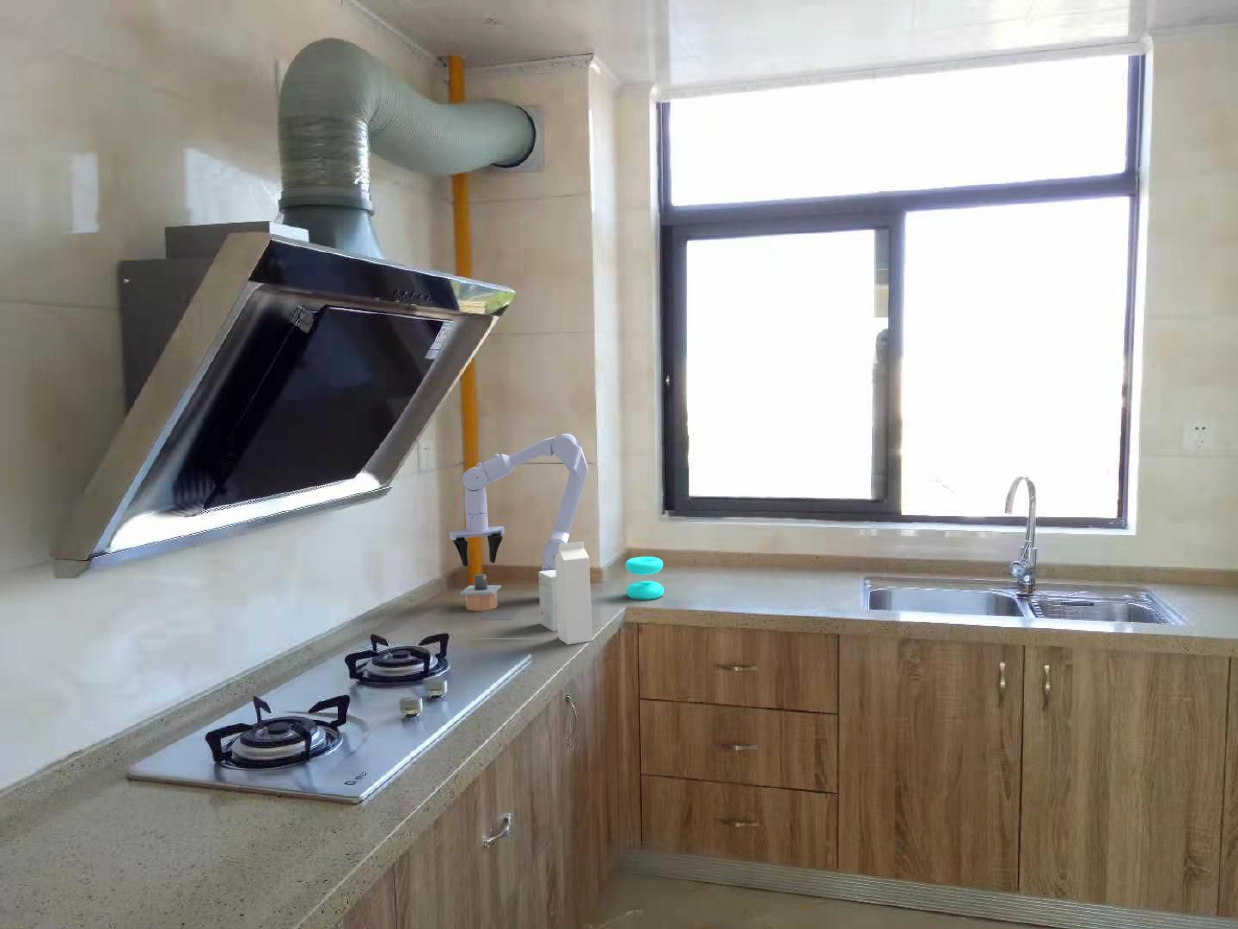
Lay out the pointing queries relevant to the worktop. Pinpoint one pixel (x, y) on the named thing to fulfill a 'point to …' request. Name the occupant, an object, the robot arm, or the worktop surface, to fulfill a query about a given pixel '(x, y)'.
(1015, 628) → the worktop surface
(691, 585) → the worktop surface
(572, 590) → the milk
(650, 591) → the donuts
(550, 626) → the small box
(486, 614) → the mat
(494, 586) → the lid
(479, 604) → the bowl
